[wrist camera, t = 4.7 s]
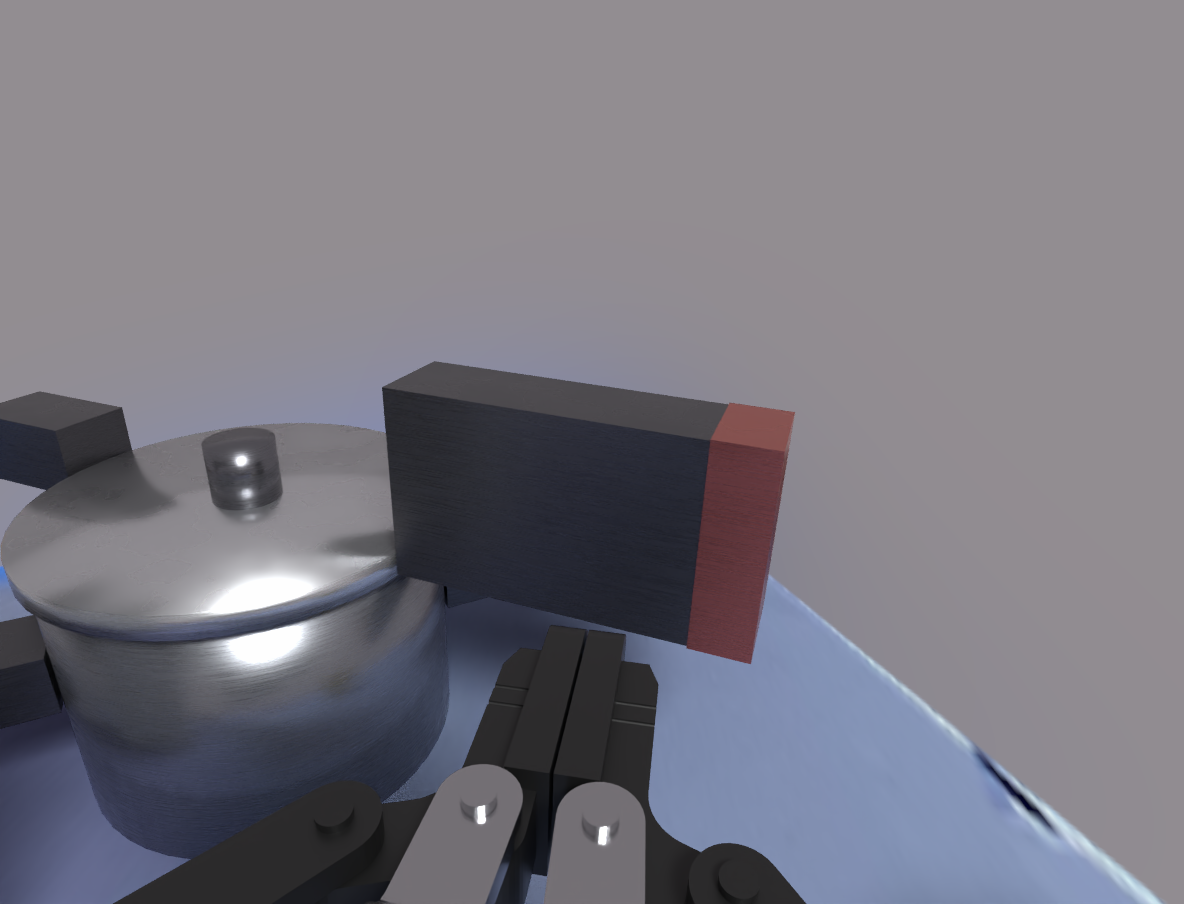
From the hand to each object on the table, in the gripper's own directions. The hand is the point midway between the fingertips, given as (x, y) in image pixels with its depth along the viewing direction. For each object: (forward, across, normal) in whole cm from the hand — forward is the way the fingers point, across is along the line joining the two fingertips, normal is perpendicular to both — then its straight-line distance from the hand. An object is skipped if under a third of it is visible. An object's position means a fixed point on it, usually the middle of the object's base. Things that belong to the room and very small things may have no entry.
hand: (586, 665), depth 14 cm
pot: (+14, +13, +15) cm, 25 cm away
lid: (+12, +12, +5) cm, 17 cm away
